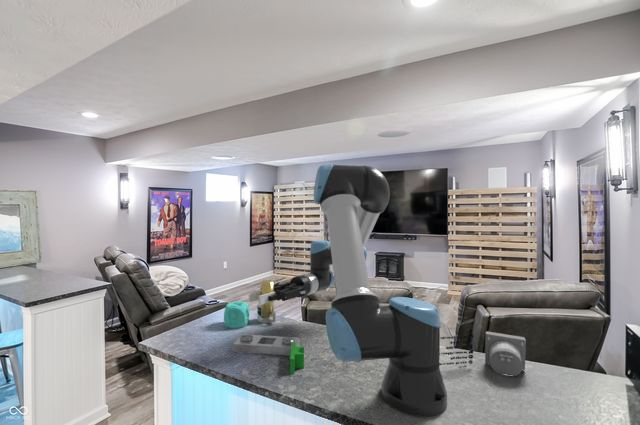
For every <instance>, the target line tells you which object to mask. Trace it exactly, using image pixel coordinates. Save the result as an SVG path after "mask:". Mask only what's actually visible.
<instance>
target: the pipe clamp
mask: <svg viewBox="0 0 640 425" xmlns="http://www.w3.org/2000/svg"><path fill="white" fill-rule="evenodd" d="M289 368H290V369H289V374H290V375H295V370H296V369H305V346H304V345H303V346H296V342H292V348H291V356H289Z"/></svg>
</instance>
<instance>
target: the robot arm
mask: <svg viewBox="0 0 640 425" xmlns="http://www.w3.org/2000/svg"><path fill="white" fill-rule="evenodd" d="M314 180H315V181H314V188H313V203H314V204H316V205H320V211H321V212H322V214H325V215H326V219H327V220H326V221H327V227H328V237H329V238H328V239H329V240H322V239H321V240H313V241H312V242H311V243H310V249H309V250H310V251H309V255H310V256H309V258H310V261H309V262H310V263H309V264H310V269H309V271H310V272H309V273H305V274H304V273H303V274H301V275H300V274H299V275H295V276H293V277H292V278H291V279H290V281H289V282H285V283H281V282H278V281H277V282H276V283H274V292H271V293H268V294H264V295H261V289H260V290H257V291H253V292H248V303H253V302H256V301H258V304H259V305H262V304H266V303H269V302H272V301H274V302H275V301H282V302H286V301H289V300H293V299H295V298H302V297H306V296H310V295H312V294H314V293H317V292H321V291H325V290H327V289H329V288H331V287H332V286H333V285H334V286H335V287H334V288H335V296H334V297H333V299H332V300H331V302H330V304H331V307H330V308H328V309H327V310H326V312H325V323H326V324H325V328H326V329H325V330H326V334H327V337H328V342H329V346H330V348H331V351H332V353H333V356H335V358H336V359H337V360H339V361H341V362H355V363H359V362H361V361H373V360H384V359H385V360H386V359H388V365H387V366H386V370H385V374H384V375H383V378H382V381H381V396H382V398H383V400H384V401H385V403H386V404H387V405H388V406H390V407H391V408H392V409H393V410H396V411H398V412H400V413H403V414H407V415H410V416H415V417H432V416H436V415H440V414H441V413H443V412H444V411H445V410H446V408H447V406H448V392H447V391H448V390H447V389H446V384H445V382H444V379H443V376H442V373H441V369H440V365H439V363H440V355H441V352H440V349H441V348H440V346H441V344H440V343H441V341H440V340H441V335H440V334H441V326H442V325H441V317H440V311H439V310H438V308H437V307H436V306H434V305H433V304H432V303H430V302H427V301H425V300H420V299H417V298H411V297H406V296H405V297H404V296H394V297H391V298H389V301H388V305H380V301H379V300H380V299H379V296H378V295H377V294H376V293H374V292H373V291H372V290H371V285H370V278H369V274H368V267H367V262H366V261H367V257H368V255H367V254H368V251H367V248H366V245H367V243H368V240H369V238H370V236H371V234H372V231H373V230H374V227H375V225H376V223H377V221H378V219H379V216H380V214H382V213H384V211H385V210H386V209H387V206H388V204H389V202H390V197H391V192H390V185H389V182H388V181H387V179H386V177H385V175H384V174H383V173H382V172H381V171H380V170H378V169H377V168H375V167H373V166H369V165H347V164H346V165H345V164H344V165H343V164H342V165H340V164H322V165H320V166H318V168H317V171H316V175H315V179H314ZM330 265H332V269H333V270H330ZM332 271H333V272H332Z"/></svg>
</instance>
